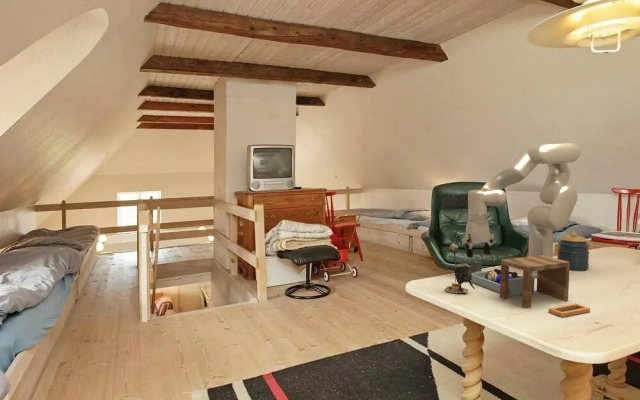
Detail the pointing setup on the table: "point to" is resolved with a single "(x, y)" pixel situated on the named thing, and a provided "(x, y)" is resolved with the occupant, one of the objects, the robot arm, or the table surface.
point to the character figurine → (499, 275)
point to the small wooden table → (548, 277)
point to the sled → (479, 278)
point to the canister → (574, 251)
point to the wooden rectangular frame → (569, 310)
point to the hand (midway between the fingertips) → (478, 255)
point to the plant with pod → (459, 274)
